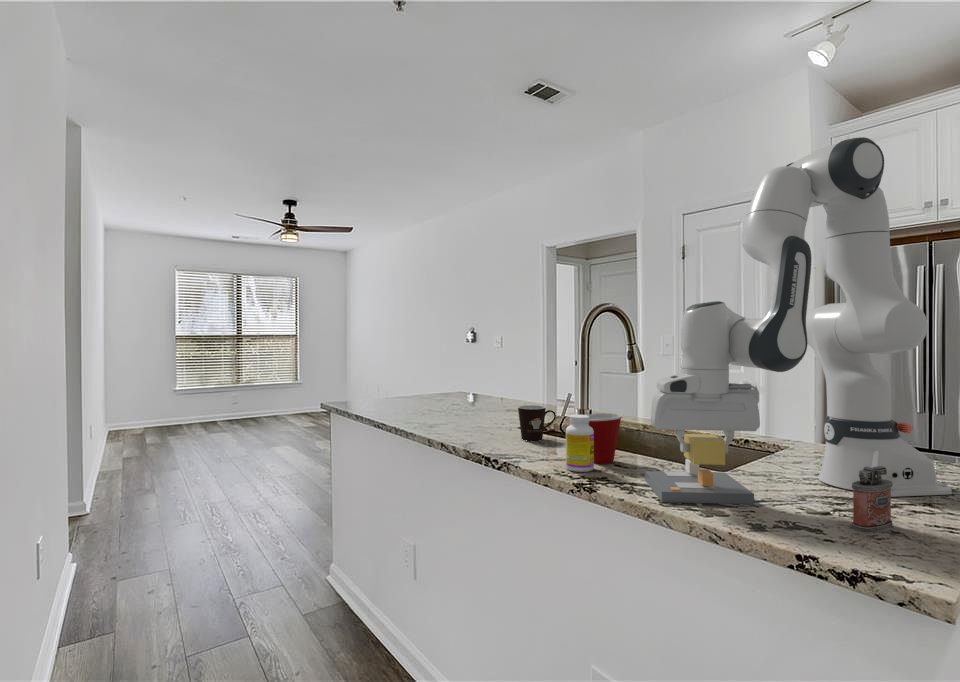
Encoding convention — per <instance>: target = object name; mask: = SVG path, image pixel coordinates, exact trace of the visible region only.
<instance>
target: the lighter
mask: <svg viewBox="0 0 960 682" xmlns="http://www.w3.org/2000/svg"><path fill="white" fill-rule="evenodd" d="M882 475H887V468H885V467H883V466H878V467H873V468H871V467H864V468H863V470H861V471H859V477H860V481H856V482H854V483H852V489H853V490H852V491H853V492H852V493H853V494H852V495H853V496H852V497H853V498H852V499H853V500H852V501H853V503H852V504H853V508H852V509H853V510H852V511H853V512H852V514H853V515H852V518H853V519H852V521H851V529H852V530H853V531H856V532H858V533H863V534H874V533H879V532H880V533H881V532H884V531H888V530H889V529H892V528H893V520H892V513H891V511H892V497H891V487H892V481H889V480H885V479H882V477H881V476H882Z"/></svg>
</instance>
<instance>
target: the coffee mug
mask: <svg viewBox="0 0 960 682" xmlns="http://www.w3.org/2000/svg"><path fill="white" fill-rule="evenodd" d="M517 411H518V419H519V421H518V422H519V427H520V429H519V430H520V438H521V440H522V439H523V440H527V441H526V442H531V441H535V442H540V441H539V440H541V441H542V440H543V435H544V431H545V429H547V428H548V427H550V426H551V425H552V424H553V423H554V422H555V420H556V418H557V415H556V412H555V411H554V410H552V409H548V410H547V407H546V406H544V405H538V404H537V405H534V404H532V405H520V406H518V407H517ZM548 413H552V414H553V418H552V420H551V421H550V422H549V423H548V424H546V425H545V418H546V415H547V414H548ZM523 440H522V441H523Z"/></svg>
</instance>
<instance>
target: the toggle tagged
mask: <svg viewBox="0 0 960 682" xmlns="http://www.w3.org/2000/svg"><path fill="white" fill-rule="evenodd" d="M698 482H699V483H700V484H701V485H702V486H713V473H712V471H711V470H709V469H708V468H699V469H698Z"/></svg>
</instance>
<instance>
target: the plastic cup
mask: <svg viewBox="0 0 960 682" xmlns="http://www.w3.org/2000/svg"><path fill="white" fill-rule="evenodd" d="M586 415H587V416H589V417H590V421H589V426H590V427H592V428H593V431H594V464H599V465H610V464H613V463H614V460H615V455H616V450H617V445H618V444H617V443H618V439H619V438H618V437H619V431H620V424H621V421H622V418H623V414H620V413H613V412H611V413H610V412H609V413H608V412H607V413H606V412H603V413H600V412H599V413H590V414H586Z"/></svg>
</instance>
